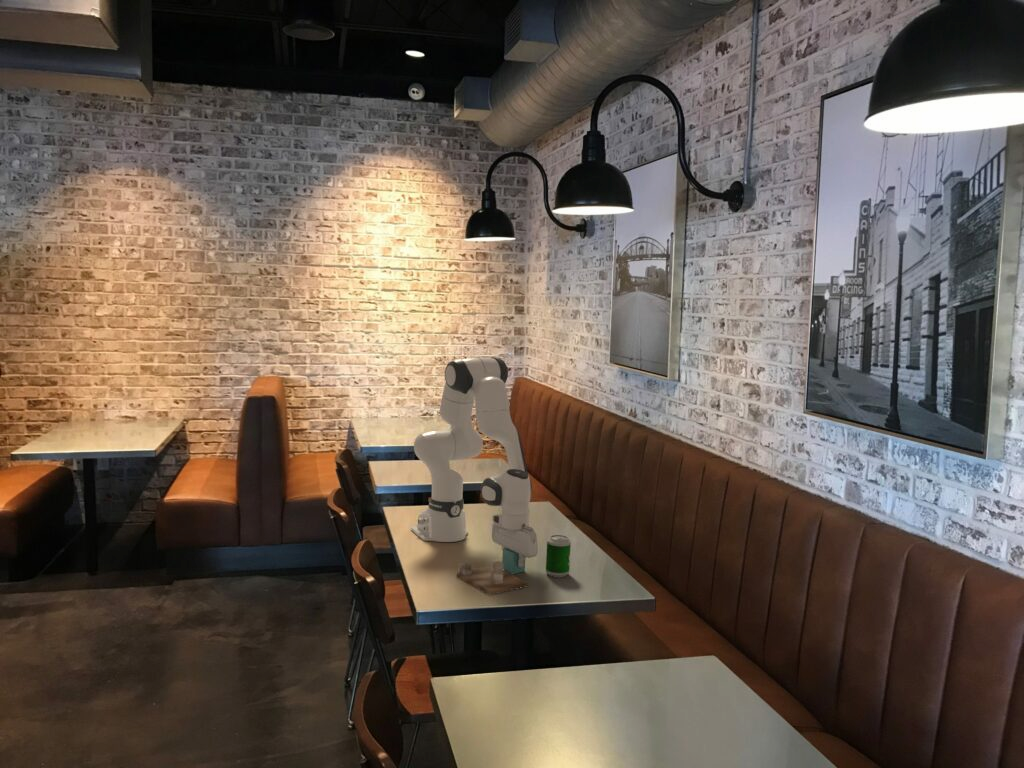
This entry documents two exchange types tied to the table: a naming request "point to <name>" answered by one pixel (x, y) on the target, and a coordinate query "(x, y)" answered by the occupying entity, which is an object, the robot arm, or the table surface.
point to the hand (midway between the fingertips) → (513, 563)
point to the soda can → (558, 555)
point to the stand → (490, 578)
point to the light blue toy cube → (511, 561)
